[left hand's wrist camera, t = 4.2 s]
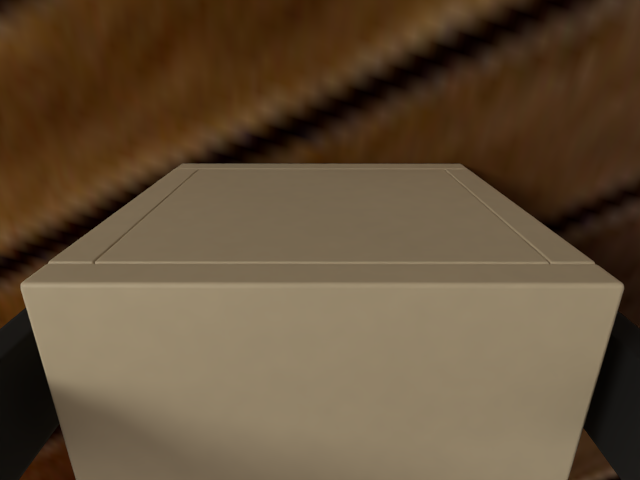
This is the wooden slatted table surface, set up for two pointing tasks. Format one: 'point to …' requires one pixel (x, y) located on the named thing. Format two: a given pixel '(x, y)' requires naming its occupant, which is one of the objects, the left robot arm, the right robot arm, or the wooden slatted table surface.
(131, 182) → the wooden slatted table surface
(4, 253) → the wooden slatted table surface
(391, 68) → the wooden slatted table surface
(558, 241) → the cabinet
